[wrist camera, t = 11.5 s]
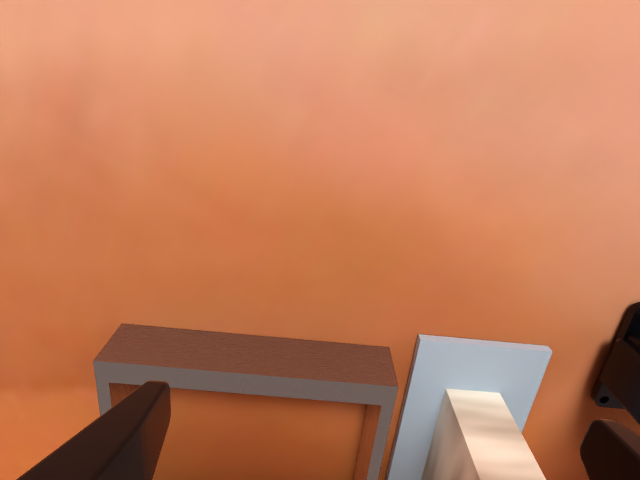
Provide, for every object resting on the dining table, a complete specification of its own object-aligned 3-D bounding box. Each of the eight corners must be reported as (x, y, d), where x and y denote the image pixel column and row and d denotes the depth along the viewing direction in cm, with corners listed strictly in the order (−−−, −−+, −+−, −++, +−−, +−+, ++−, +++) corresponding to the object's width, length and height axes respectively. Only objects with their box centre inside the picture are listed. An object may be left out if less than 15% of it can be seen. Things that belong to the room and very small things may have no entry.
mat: (547, 345, 23) (552, 351, 22) (475, 539, 29) (477, 547, 28) (418, 334, 22) (420, 340, 22) (373, 532, 29) (373, 539, 28)
